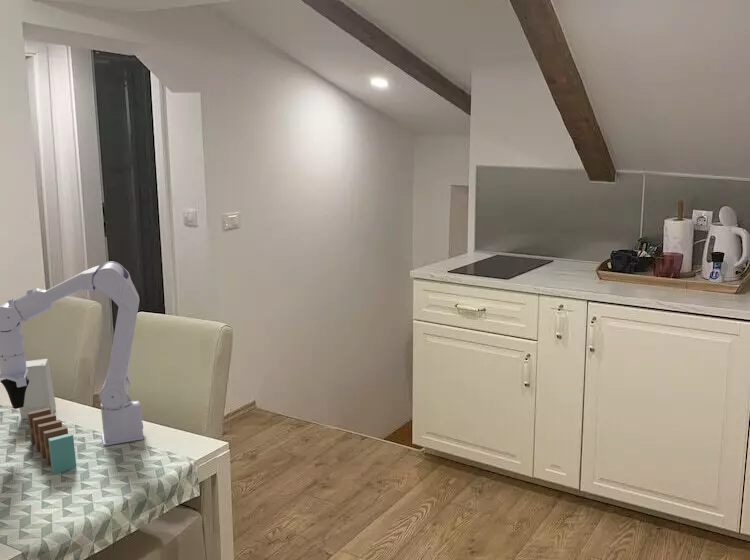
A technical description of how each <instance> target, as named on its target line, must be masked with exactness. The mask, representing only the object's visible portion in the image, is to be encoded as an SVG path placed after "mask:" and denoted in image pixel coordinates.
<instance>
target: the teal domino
mask: <svg viewBox="0 0 750 560" xmlns="http://www.w3.org/2000/svg"><path fill="white" fill-rule="evenodd" d="M74 440H75V439H74V434H73V433H72V432H70V433H69V432H68V434H65V435H61V436H57V437H53V438H49V439H48V442H49V450H50V459H51V466H50V467H51V472H52V474H53V475H56V474H60V473H63V472H66V470H67V471H70V470H74V469H77V468H76V467H77V460H76V451H75V449H76V448H75V441H74ZM73 468H74V469H73ZM69 469H70V470H69ZM62 471H63V472H62Z"/></svg>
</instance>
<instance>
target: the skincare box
mask: <svg viewBox="0 0 750 560" xmlns="http://www.w3.org/2000/svg"><path fill="white" fill-rule="evenodd" d="M49 361H50V360H49V358H41V359H34V360H26V368H27V369H28V373H27V378H28V379H29V384H28V386H27V388H26V392H25V399H24V406H23V407H22V408H19V413H20V414H19V415H20V419H21V420H28V414H27V412H32V411H36V410H41V409H45V408H49V409H50V411H51V414H55V412H56V410H57V409H56V408H57V406H56V397H55V391H54V387H53V382H52V373H51V368H50V362H49Z"/></svg>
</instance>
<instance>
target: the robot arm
mask: <svg viewBox="0 0 750 560" xmlns="http://www.w3.org/2000/svg"><path fill="white" fill-rule="evenodd" d="M81 290H84V291H85V290H86V291H88V292H89V291H90V292H94V291H95V290H97V292H99V293H100V294H103V295H104V296H106V297H108V298H110V299H111V300H112V301H113V302H114V303H115V304H116V306H117V307H118V309H117V315H116V321H115V327H114V333H113V337H112V338H113V340H112V345H111V350H110V351H111V352H110V357H109V362H108V370H107V373H106V378H105V379H104V381H103V385H102V388H101V390H100V391H99V395H98V399H99V402H100V411H101V412H100V413H101V422H102V432H101V439H102V445H103V446H104V447H107V446H111V445H112V446H113V445H117V444H123V443H129V442H135V441H141V440H143V439H144V431H143V430H144V424H143V423H144V422H143V420H142V417H143V416H142V408H141V402H140V400H132V399H131V398H130V397H129V395H128V392H129V389H130V386H131V385H130V379H129V365H130V360H131V359H130V358H131V354H132V347H133V341H134V335H135V330H136V324H137V323H136V322H137V318H138V313H139V312H138V311H139V306H140V295H139V293H138V291H137V289H136V287H135V285H134V282H133V281H132V278H131V275H130V272H129V271H128V270H127V269H126V268H125V267H124V266H123V265H122V264H120V263H119V262H116V261H106V262H104V263H103V264H102V265H101V266H100V264H99V265H96V266H93V267H91V268H89V269H86V270H84V271H81V272H80V273H77V274H76V275H73V276H72V277H70V278H68V279H65V280H64V281H62V282H60V283H58V284H56V285H54V286H52V287H50V288H48V289H42V288H36V289H34V288H33V287H32V288H29V289H28V290H26V293H25V294H23V295H21V296H19V297H16V298H15V299H14V298H10V299H8V300H7V302H4V303H2V304H0V379H2V380H0V382H1V384H2V386H3V387H4V389H5V391H6V393H7V395H8V398H9V400H10V401H9V402H10V403H11V406H12V409H14V410H16V409H17V410H18V409H20V408H22V407H23V406H24V399H25V392H26V388H27V386H28V384H29V379H28V378H27V373H28V369H27V368H26V361H27V360H26V352H25V345H24V337H23V331H22V324H21V322H27V321H28V320H30V319H33V318H35V317H38V316H40V315H41V314H43V313H45V312H48V311H50V310H51V308H52V304H53V303H54V302H56V301H58V300H60V299H63V298H65V297H68V296H70V295H72V294H75V293H76V292H77V293H78V291H81Z"/></svg>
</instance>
